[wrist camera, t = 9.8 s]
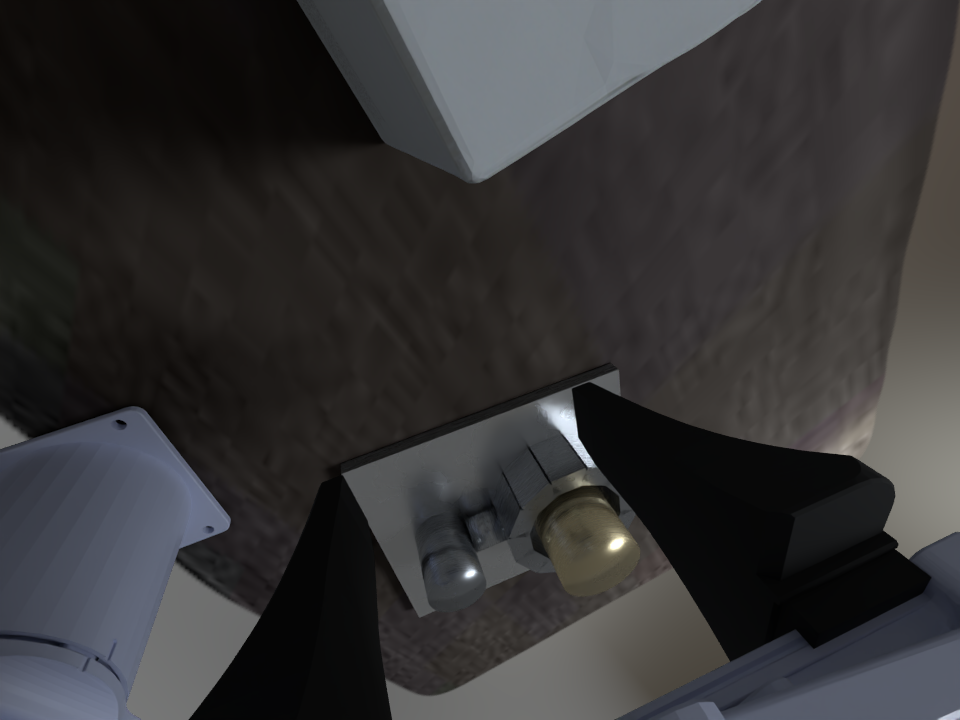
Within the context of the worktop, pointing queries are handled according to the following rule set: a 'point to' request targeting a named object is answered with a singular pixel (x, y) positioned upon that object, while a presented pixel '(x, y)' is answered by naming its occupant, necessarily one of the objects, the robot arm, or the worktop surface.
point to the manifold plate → (478, 493)
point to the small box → (500, 66)
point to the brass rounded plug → (586, 541)
